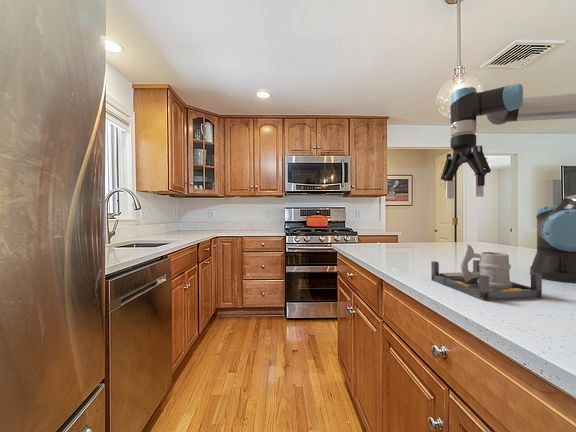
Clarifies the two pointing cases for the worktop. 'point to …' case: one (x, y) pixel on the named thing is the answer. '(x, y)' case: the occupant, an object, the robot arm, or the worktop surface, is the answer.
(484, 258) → the mug
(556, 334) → the worktop surface
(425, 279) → the worktop surface
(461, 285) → the tray
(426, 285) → the worktop surface
